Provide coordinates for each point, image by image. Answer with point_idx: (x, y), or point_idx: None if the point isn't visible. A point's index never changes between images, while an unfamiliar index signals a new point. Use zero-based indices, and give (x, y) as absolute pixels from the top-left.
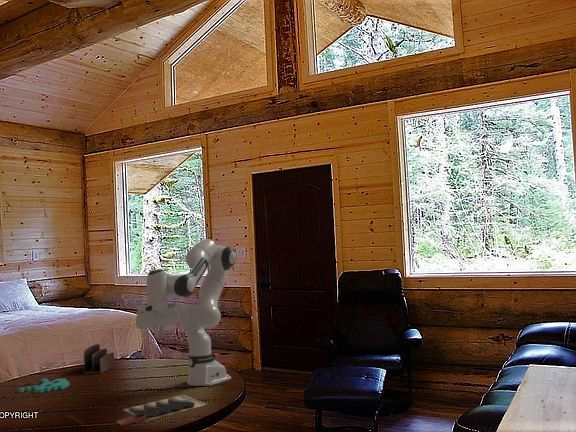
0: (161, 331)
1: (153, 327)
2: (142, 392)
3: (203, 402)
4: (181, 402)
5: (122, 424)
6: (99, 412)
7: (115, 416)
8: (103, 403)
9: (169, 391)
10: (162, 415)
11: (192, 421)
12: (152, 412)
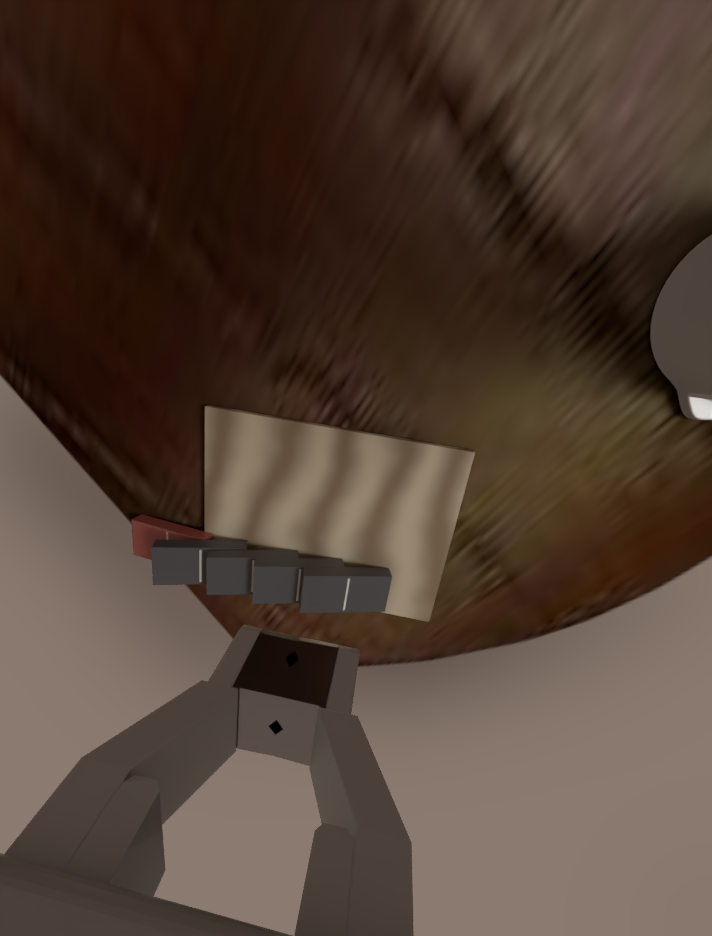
0: (312, 772)
1: (41, 861)
2: (424, 182)
3: (435, 596)
4: (331, 610)
5: (137, 554)
6: (142, 325)
7: (169, 429)
8: (199, 197)
9: (509, 309)
10: None
11: None
12: None
